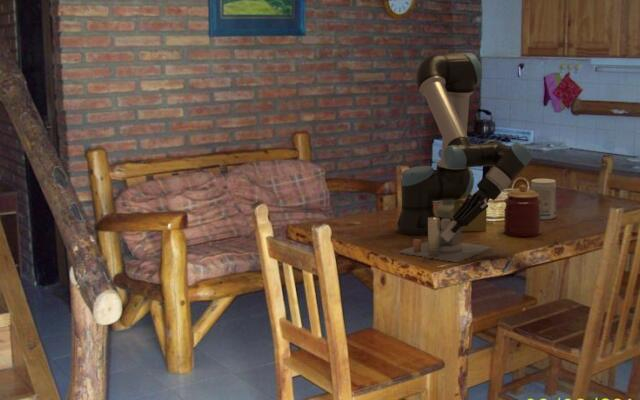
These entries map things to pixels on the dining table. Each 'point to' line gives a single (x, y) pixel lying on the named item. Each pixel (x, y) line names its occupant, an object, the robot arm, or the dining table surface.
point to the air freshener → (446, 209)
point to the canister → (522, 212)
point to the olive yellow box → (477, 223)
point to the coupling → (438, 237)
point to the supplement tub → (546, 196)
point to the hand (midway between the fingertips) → (443, 238)
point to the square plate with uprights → (446, 248)
